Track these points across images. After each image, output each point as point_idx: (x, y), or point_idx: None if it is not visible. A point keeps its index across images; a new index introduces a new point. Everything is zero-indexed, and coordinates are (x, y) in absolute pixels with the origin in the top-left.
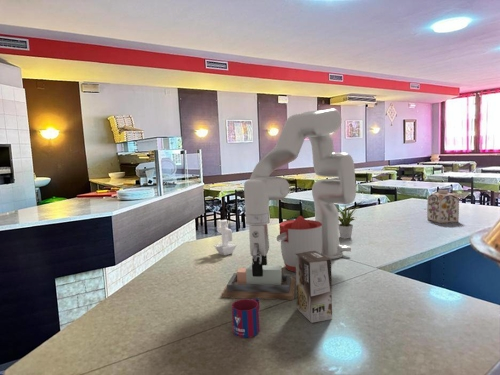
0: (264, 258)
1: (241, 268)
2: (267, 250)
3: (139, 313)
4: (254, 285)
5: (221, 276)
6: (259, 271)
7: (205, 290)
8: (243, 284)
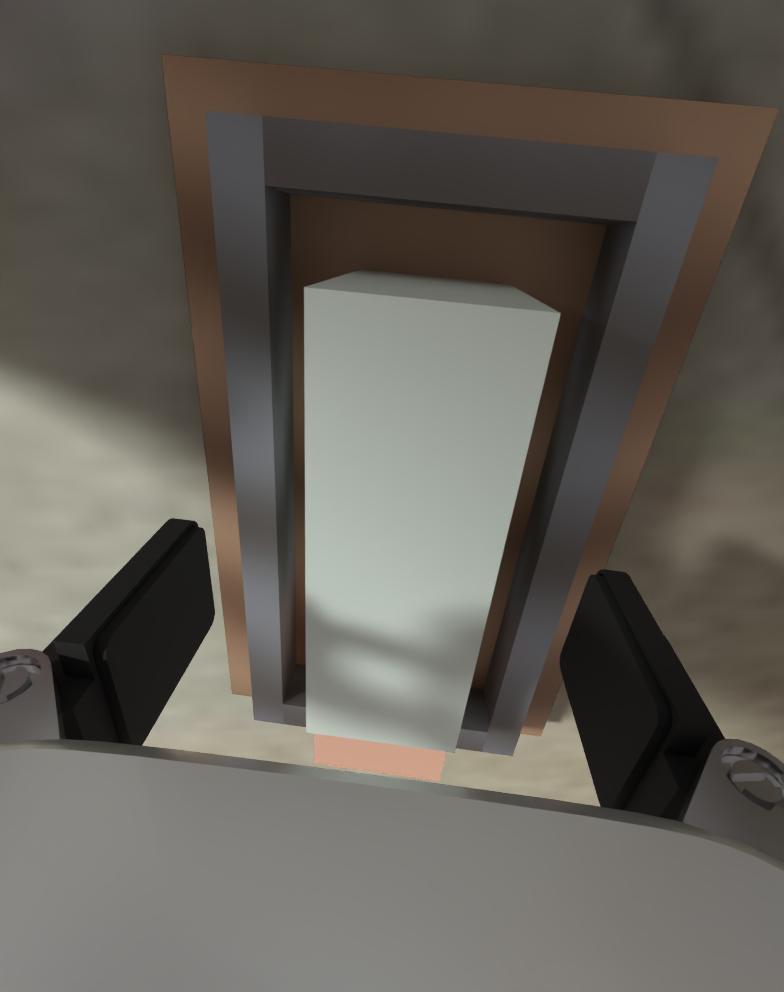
0: (154, 612)
1: (333, 749)
2: (441, 876)
3: None
4: (567, 580)
5: (193, 725)
6: (678, 660)
7: (423, 781)
8: (522, 660)
